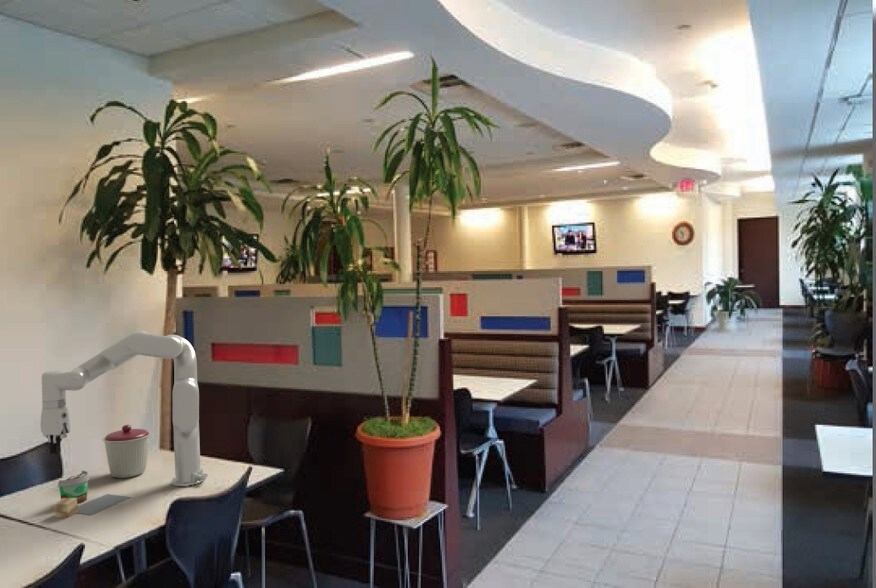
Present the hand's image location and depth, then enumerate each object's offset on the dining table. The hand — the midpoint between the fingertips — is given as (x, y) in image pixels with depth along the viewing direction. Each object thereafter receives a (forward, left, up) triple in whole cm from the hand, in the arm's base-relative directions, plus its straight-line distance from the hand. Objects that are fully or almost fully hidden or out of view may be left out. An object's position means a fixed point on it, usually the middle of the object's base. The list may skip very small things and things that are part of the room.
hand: (55, 452), depth 236 cm
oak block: (-17, +11, -18) cm, 27 cm away
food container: (-10, 0, -18) cm, 21 cm away
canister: (-2, -31, -18) cm, 36 cm away
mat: (-20, 0, -18) cm, 27 cm away
